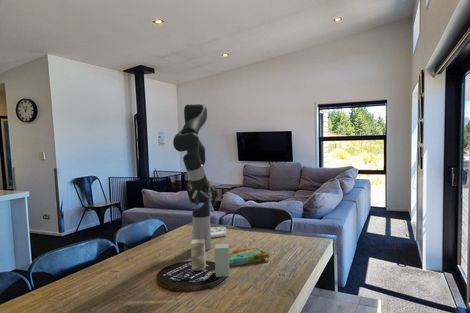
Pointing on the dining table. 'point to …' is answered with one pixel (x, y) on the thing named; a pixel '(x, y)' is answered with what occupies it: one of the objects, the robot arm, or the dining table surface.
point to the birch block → (198, 254)
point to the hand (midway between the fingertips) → (205, 204)
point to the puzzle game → (246, 256)
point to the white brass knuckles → (218, 232)
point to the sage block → (222, 260)
